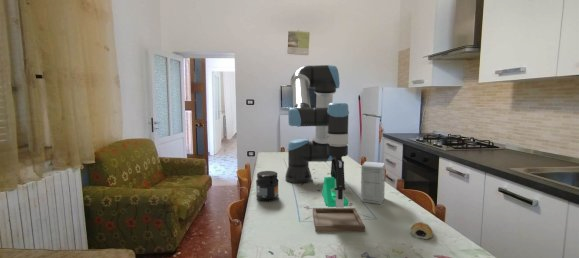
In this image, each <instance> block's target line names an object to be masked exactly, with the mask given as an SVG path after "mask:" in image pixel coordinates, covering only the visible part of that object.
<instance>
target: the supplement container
mask: <svg viewBox="0 0 579 258" xmlns="http://www.w3.org/2000/svg"><path fill="white" fill-rule="evenodd" d="M256 178H257V179H256V181H255V183H256V184H255V185H256V186H255V187H256V192H255V193H256V194H255V195H256V199H257V200H258V201H261V202H273V201H276V200H277V199H278V198H279V179H278V172H276V171H275V170H274V171H273V170H263V171H260V172H259V171H258V172H257V174H256Z"/></svg>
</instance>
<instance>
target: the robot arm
mask: <svg viewBox="0 0 579 258" xmlns="http://www.w3.org/2000/svg"><path fill="white" fill-rule="evenodd" d="M340 82H341V81H340V74H339V69H338V67H337V66H336V65H332V64H331V65H329V64H325V65H324V64H322V65H321V64H320V65H318V64H317V65H304V66H301V67H300V68H298V69H297V70H295V71H294V73H293V74H292V76H291V78H290V87H291V89H292V107H290V108H289V109H288V125H289V126H290V127H298V128H300V127H315V135H314V136H313V137H312V140H309V139H308V138H297V139H292V140H290V141H289V142H288V144H287V145H288V148H287V150H288V160H287V163H288V164H287V169H286V172H285V177H284V179H285V181H286V182H288V183H293V184H304V183H305V184H306V183H308V182H309V183H310V182H311V181H312V178H313V177H312V173H311V170H310V167H309V166H310V165H309V163H311V162H313V163H314V162H317V163H318V162H319V163H321V162H323V163H327V162H330V163H331V164H330V173H329V174H330V177H334V179H335V188H334V189H331V192H334V191H336V207H335V208H345V207H344V196H345V190H346V184H345V183H346V182H345V161H344V160H343V159H342V158H343V157H347V156H348V155H349V147H348V144H349V114H350V111H349V105H348V103H345V102H344V103H343V102H333V99H334V94H335V93H336V92H337V89H339V88H340ZM309 89H313V92H314V94H316V98H315V99H316V100H315V101H316V103H315V107H311V96H310V90H309Z"/></svg>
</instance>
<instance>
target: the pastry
mask: <svg viewBox="0 0 579 258" xmlns="http://www.w3.org/2000/svg"><path fill="white" fill-rule="evenodd" d="M410 235H411V237H413V238H417V239H422V240H430V239H432V238H433V229H432V228H431V227H430V225H429V224H427V223H424V222H421V221H420V222H415V223H414V224H412V225H411V229H410Z"/></svg>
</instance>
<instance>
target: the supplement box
mask: <svg viewBox="0 0 579 258" xmlns="http://www.w3.org/2000/svg"><path fill="white" fill-rule="evenodd" d="M385 168H386V163H384V162H374V161H364V163H362V165H361V172H360V174H361V177H360V178H361V180H360V187H361V188H360V202H364V203H369V204H378V205H383V203H384V200H385V179H386V178H385V177H386V176H385V175H386V174H385V173H386V169H385Z"/></svg>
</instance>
